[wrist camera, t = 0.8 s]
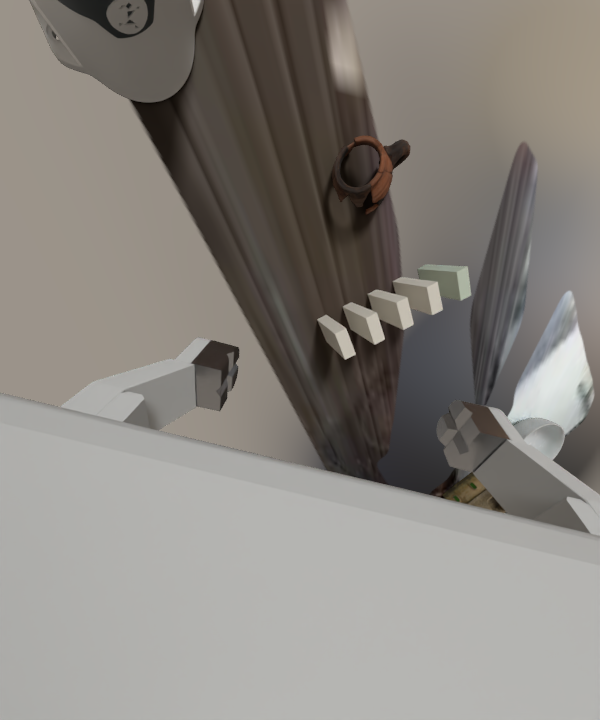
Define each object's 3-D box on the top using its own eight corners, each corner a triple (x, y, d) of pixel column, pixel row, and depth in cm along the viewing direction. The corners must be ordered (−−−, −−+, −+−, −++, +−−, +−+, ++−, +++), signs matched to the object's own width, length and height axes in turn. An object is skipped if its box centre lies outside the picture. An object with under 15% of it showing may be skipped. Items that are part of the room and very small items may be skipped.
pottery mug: (355, 231, 46) (351, 213, 38) (325, 187, 46) (315, 160, 38) (418, 180, 42) (428, 148, 34) (385, 133, 42) (388, 90, 34)
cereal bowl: (542, 434, 80) (569, 450, 73) (498, 466, 80) (520, 484, 74) (532, 399, 72) (561, 413, 66) (483, 434, 73) (507, 451, 67)
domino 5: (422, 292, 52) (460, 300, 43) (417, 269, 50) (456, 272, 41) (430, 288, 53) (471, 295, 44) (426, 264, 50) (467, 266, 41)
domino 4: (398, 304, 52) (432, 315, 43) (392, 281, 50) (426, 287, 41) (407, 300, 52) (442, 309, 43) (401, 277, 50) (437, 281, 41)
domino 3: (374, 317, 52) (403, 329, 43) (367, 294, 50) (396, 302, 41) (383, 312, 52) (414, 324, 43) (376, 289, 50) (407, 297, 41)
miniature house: (453, 516, 85) (483, 552, 75) (436, 497, 79) (466, 533, 69) (490, 488, 84) (526, 521, 74) (476, 467, 78) (512, 499, 68)
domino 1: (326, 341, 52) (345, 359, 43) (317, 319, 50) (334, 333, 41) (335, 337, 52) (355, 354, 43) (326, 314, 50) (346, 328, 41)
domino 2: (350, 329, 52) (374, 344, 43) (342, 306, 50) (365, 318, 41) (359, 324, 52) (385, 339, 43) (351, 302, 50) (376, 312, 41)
